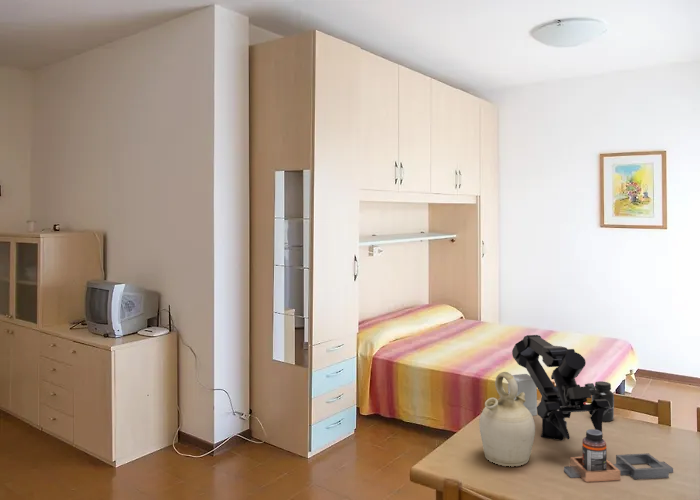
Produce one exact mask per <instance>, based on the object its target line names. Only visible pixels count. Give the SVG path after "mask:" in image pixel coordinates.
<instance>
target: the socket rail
mask: <svg viewBox="0 0 700 500" xmlns="http://www.w3.org/2000/svg"><path fill="white" fill-rule="evenodd" d="M641 464H643V465H645V464H646V465H648V466H650V467H644V468H642V467H641V468H640V467H638V468H637V467H635V466H633V465H641ZM563 472H564V473H565V474H566V475H567V476H568V477H569V478H570V479H573V478H574V479H575V478H581V479H582V480H583V481H584V482H585V483H588V482H589V483H591V482H592V483H594V482H608V481H609V482H611V481H621V476H630V477H631V478H632V479H633V480H646V479H647V480H649V479H650V480H651V479H668V478H669V477H670V473H671V474H672V473H674V468H673V467H672V466H671V465H670V464H669V463H667V462H665V461H660V460H658V459H657V458H655V457H654V456H653V455H651V454H650V453H645V452H644V453H632V454H631V453H627V454H626V453H625V454H616V455H615V463H612V462H611V461H610V460H608V458H606V470H599V471H587V470H586V469H585V468H584V467H583V466H582V456H570V457H569V465H568V466H563Z"/></svg>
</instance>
